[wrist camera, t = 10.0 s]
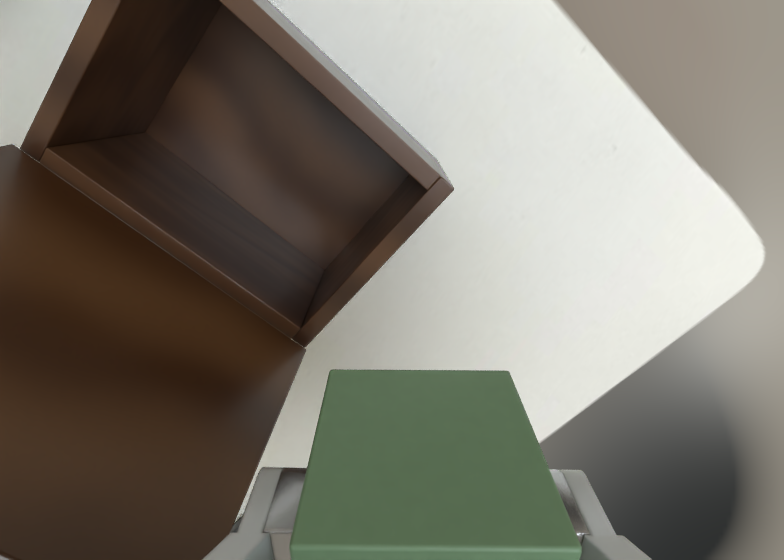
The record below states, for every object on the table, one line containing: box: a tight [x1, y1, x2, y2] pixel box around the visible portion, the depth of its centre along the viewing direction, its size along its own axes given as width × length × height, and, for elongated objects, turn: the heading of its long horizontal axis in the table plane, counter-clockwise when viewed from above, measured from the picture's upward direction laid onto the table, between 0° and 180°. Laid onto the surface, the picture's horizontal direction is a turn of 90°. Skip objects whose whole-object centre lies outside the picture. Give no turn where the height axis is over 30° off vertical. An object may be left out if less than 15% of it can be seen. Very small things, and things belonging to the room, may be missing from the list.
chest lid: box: [0, 144, 306, 560], centre depth 16 cm, size 12×16×5 cm
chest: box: [20, 0, 454, 348], centre depth 23 cm, size 12×16×9 cm
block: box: [289, 370, 582, 560], centre depth 9 cm, size 5×5×5 cm
